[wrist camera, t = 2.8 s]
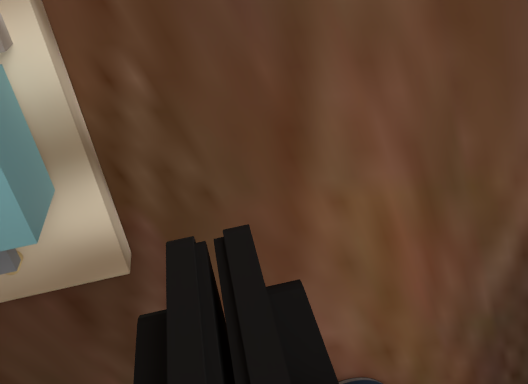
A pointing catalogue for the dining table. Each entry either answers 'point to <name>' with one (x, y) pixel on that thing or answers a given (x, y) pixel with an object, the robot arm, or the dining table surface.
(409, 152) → the dining table surface
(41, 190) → the sliding block
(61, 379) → the dining table surface
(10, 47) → the board
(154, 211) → the dining table surface
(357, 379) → the soda can
